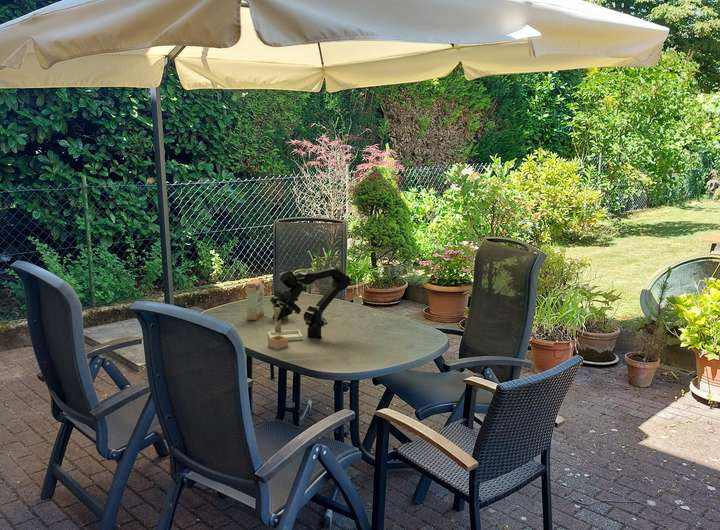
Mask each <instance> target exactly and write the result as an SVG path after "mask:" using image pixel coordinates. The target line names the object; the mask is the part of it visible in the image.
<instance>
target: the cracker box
mask: <svg viewBox="0 0 720 530" xmlns="http://www.w3.org/2000/svg"><path fill="white" fill-rule="evenodd" d="M246 312H247V313H246V315H247V316H246V319H247V320H248V321H257V320H258V319H260V318H262V316H264V315H265V280H264V279H261V278H255V279H253V280H251V281H249V282H248V283H246ZM263 314H264V315H263Z"/></svg>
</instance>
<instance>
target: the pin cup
mask: <svg viewBox="0 0 720 530" xmlns="http://www.w3.org/2000/svg"><path fill="white" fill-rule="evenodd" d="M267 346H268V347H269V348H272V349H275V350H279V349H283V348H286V347H289V341H288V338H287V337H284V336H281V335H278V336H274V337H270V338H269V337H267Z"/></svg>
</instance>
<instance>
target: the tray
mask: <svg viewBox="0 0 720 530" xmlns="http://www.w3.org/2000/svg"><path fill="white" fill-rule="evenodd" d="M278 335H281V336H284V337H287V338H288V342H292V341H293V342H296V341H303V339H304V338H303V337H304V336H303V334H302V333H301V331H300V329H287V330H285V329H284V330H281V333H275V330H273V331H267V337H268V338H270V337H274V336H278Z"/></svg>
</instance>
